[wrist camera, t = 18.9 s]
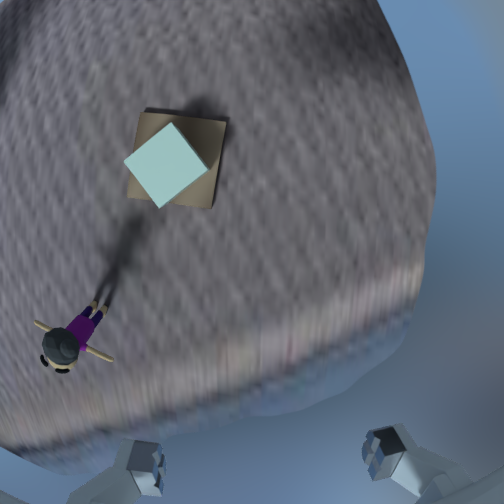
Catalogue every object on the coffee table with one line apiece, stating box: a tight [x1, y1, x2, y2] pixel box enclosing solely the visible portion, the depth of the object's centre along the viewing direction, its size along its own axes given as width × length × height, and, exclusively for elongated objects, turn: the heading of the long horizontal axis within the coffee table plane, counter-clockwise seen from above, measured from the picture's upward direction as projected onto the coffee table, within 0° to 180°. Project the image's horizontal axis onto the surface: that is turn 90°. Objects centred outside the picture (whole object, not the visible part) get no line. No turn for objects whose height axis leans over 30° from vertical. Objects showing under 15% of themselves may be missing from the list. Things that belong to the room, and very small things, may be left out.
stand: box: [127, 112, 226, 209], centre depth 31 cm, size 10×10×5 cm
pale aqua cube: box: [124, 123, 210, 208], centre depth 31 cm, size 6×6×5 cm
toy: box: [34, 301, 114, 374], centre depth 30 cm, size 10×6×15 cm, turn 67°
